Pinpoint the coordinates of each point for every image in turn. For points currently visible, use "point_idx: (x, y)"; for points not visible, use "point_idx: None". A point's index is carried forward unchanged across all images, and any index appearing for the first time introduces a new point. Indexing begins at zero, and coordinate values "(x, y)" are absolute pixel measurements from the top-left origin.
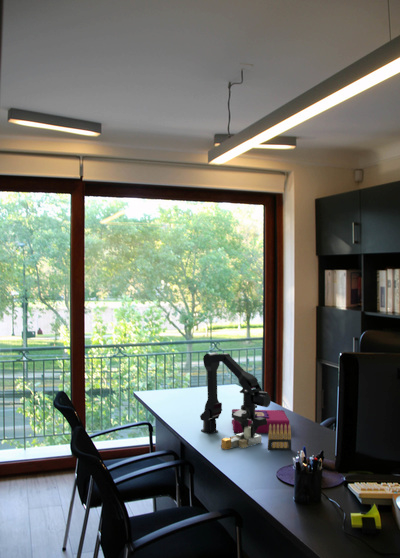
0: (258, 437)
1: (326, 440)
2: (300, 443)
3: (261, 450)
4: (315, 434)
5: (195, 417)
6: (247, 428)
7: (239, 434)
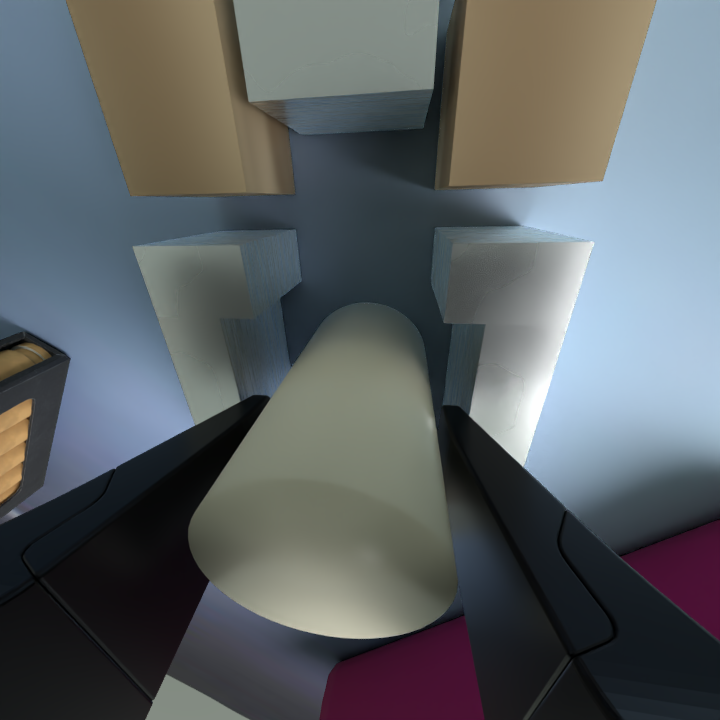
0: None
1: None
2: None
3: (36, 267)
4: (254, 690)
5: None
6: (268, 516)
7: (508, 316)
